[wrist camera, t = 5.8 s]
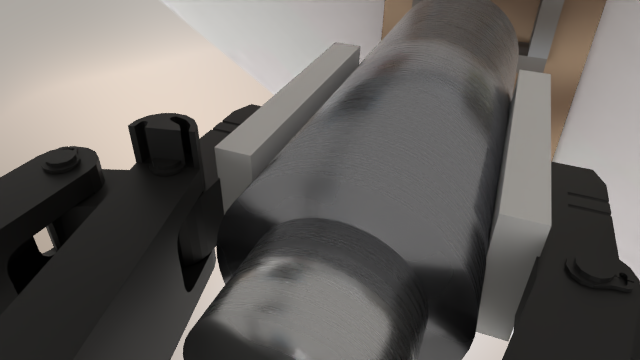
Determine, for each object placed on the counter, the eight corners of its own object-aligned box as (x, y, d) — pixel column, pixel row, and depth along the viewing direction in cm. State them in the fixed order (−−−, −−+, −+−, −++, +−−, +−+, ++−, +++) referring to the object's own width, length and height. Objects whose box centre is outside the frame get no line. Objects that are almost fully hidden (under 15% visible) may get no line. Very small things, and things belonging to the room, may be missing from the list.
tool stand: (403, -133, 27) (384, -132, 24) (643, -125, 24) (657, -123, 21) (372, 188, 39) (356, 215, 36) (526, 224, 36) (524, 259, 33)
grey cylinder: (397, -16, 16) (107, 227, 6) (534, -1, 15) (496, 350, 4) (385, 102, 19) (167, 428, 8) (501, 124, 18) (426, 545, 7)
